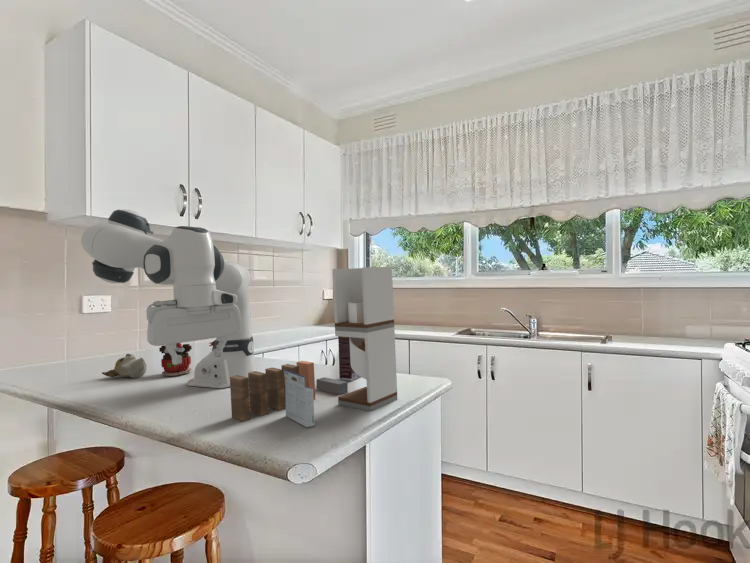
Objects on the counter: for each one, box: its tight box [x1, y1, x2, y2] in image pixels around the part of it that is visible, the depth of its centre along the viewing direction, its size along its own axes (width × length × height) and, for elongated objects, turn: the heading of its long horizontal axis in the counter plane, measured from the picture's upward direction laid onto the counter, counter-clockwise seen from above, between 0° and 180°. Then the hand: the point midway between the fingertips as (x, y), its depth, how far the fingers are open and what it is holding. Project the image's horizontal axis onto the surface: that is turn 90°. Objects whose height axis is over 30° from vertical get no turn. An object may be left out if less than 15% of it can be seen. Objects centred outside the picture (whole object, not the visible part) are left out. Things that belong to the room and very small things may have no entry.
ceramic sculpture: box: [101, 353, 147, 379], centre depth 159 cm, size 11×9×15 cm
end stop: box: [315, 377, 349, 396], centre depth 127 cm, size 3×10×3 cm, turn 47°
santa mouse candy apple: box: [158, 343, 193, 377], centre depth 160 cm, size 11×9×18 cm
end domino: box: [296, 360, 316, 400], centre depth 120 cm, size 2×5×10 cm, turn 47°
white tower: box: [331, 266, 398, 412], centre depth 115 cm, size 11×11×35 cm
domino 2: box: [248, 370, 269, 417], centre depth 109 cm, size 2×5×10 cm, turn 47°
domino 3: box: [264, 367, 286, 411], centre depth 113 cm, size 2×5×10 cm, turn 47°
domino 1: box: [230, 375, 251, 423], centre depth 106 cm, size 2×5×10 cm, turn 47°
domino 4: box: [280, 363, 299, 404], centre depth 117 cm, size 2×5×10 cm, turn 47°
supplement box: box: [337, 336, 362, 382], centre depth 142 cm, size 9×5×16 cm, turn 151°
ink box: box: [284, 369, 315, 429], centre depth 102 cm, size 12×2×12 cm, turn 35°
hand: (198, 360), depth 98 cm, fingers open, 8 cm apart
